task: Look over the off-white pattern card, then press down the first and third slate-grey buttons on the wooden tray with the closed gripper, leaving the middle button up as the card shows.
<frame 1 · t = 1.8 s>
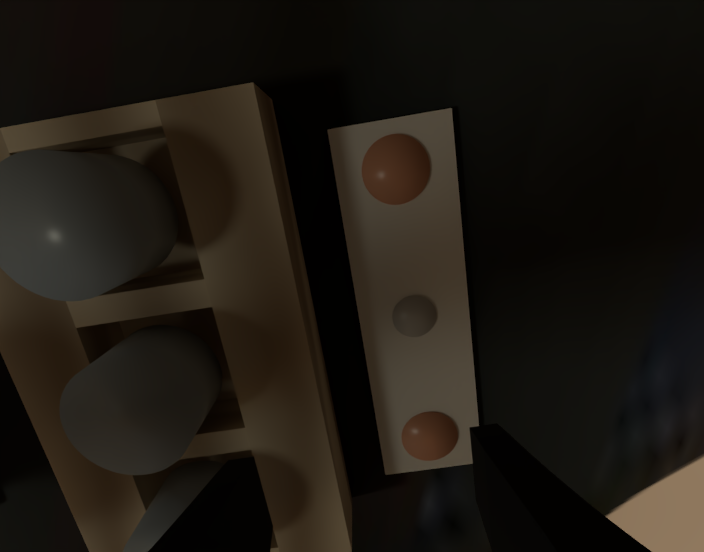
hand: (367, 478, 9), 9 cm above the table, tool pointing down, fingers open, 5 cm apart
button 2: (149, 395, 14), point 4 cm above the table, slide at 0.0 cm
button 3: (90, 222, 12), point 4 cm above the table, slide at 0.0 cm
pattern card: (413, 313, 18), on the table
button 1: (196, 531, 16), point 4 cm above the table, slide at 0.0 cm
wooden tray: (194, 346, 18), on the table
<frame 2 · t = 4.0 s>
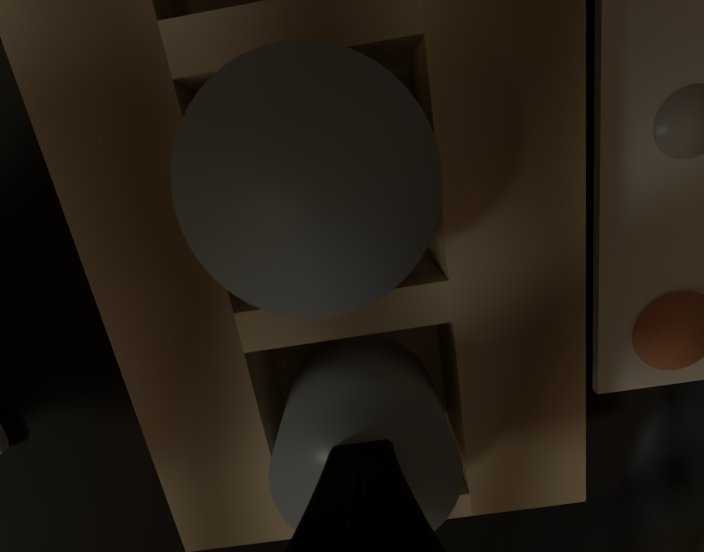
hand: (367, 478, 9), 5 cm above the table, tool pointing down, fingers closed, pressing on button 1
button 2: (315, 188, 8), point 4 cm above the table, slide at 0.0 cm
pattern card: (680, 123, 11), on the table
button 1: (363, 435, 10), point 3 cm above the table, slide at 0.8 cm, touching gripper
wooden tray: (328, 183, 12), on the table
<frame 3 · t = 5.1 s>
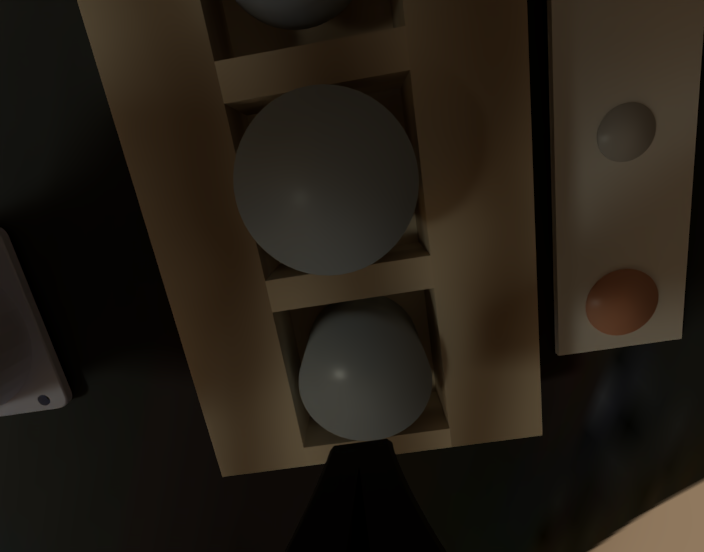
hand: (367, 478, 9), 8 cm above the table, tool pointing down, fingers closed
button 2: (330, 184, 10), point 4 cm above the table, slide at 0.0 cm
pattern card: (619, 133, 14), on the table
button 1: (364, 362, 14), point 2 cm above the table, slide at 1.9 cm
wooden tray: (336, 181, 14), on the table
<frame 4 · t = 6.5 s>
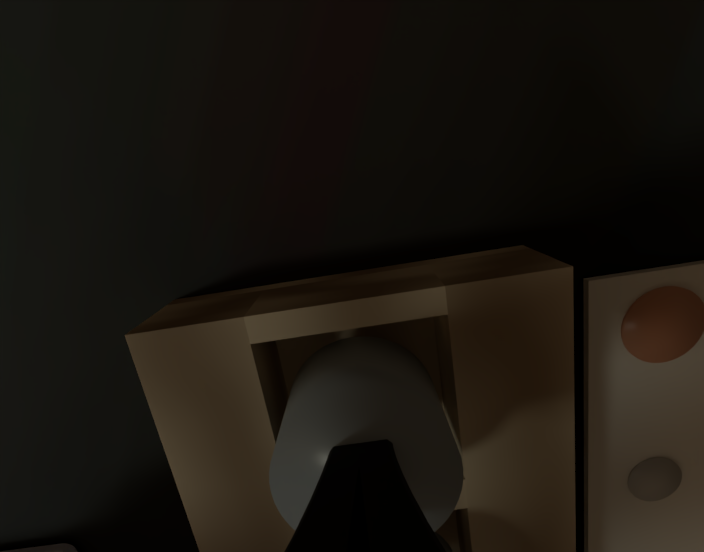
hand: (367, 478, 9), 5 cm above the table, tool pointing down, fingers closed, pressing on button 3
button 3: (364, 436, 10), point 4 cm above the table, slide at 0.2 cm, touching gripper
pattern card: (647, 472, 15), on the table
wooden tray: (385, 506, 15), on the table
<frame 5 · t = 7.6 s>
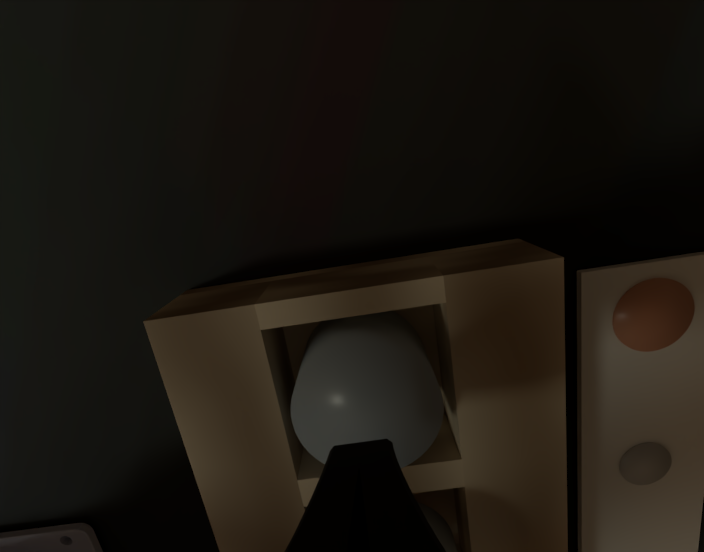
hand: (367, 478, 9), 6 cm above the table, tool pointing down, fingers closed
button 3: (365, 384, 12), point 2 cm above the table, slide at 1.9 cm
pattern card: (638, 457, 16), on the table
wooden tray: (387, 489, 16), on the table
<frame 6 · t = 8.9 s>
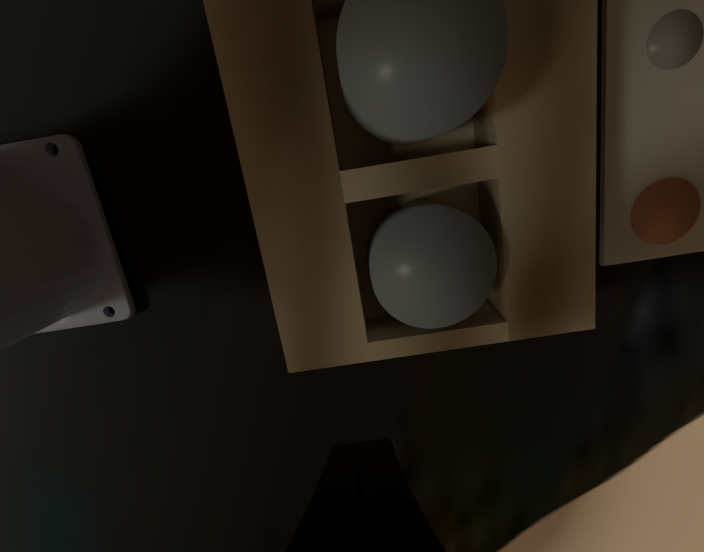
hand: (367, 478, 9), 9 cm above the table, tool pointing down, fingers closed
button 2: (413, 62, 11), point 4 cm above the table, slide at 0.0 cm
pattern card: (667, 43, 15), on the table
button 1: (425, 260, 15), point 2 cm above the table, slide at 1.9 cm
wooden tray: (397, 91, 15), on the table
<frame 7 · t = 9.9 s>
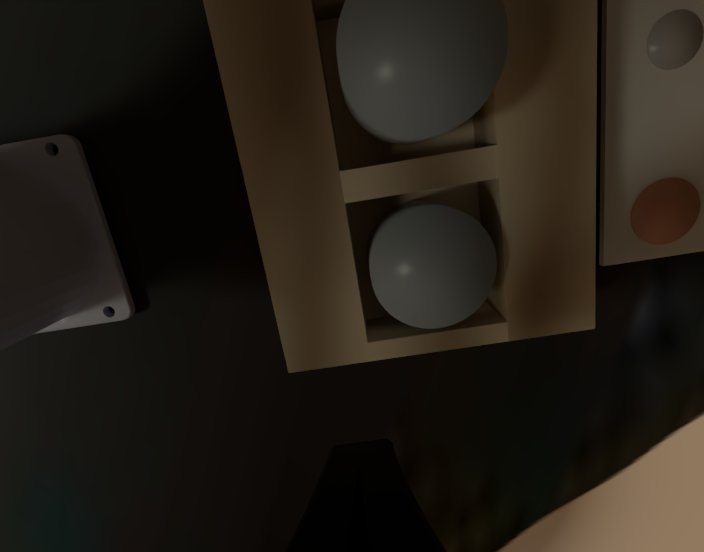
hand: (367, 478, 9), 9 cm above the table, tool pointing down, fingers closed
button 2: (413, 62, 11), point 4 cm above the table, slide at 0.0 cm
pattern card: (667, 43, 15), on the table
button 1: (425, 260, 15), point 2 cm above the table, slide at 1.9 cm
wooden tray: (397, 91, 15), on the table
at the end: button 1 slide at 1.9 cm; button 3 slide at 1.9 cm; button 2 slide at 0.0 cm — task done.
